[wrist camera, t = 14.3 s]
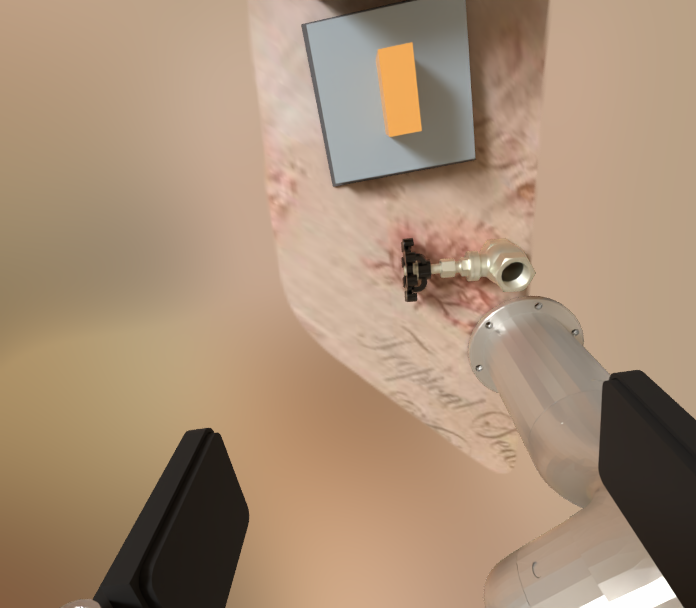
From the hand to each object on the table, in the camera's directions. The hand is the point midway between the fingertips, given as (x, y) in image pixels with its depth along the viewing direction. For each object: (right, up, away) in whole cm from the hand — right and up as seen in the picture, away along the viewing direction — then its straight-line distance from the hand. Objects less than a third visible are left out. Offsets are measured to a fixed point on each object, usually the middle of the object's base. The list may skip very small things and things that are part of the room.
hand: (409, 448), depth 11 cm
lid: (+3, +23, +29) cm, 37 cm away
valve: (+10, +9, +36) cm, 38 cm away
